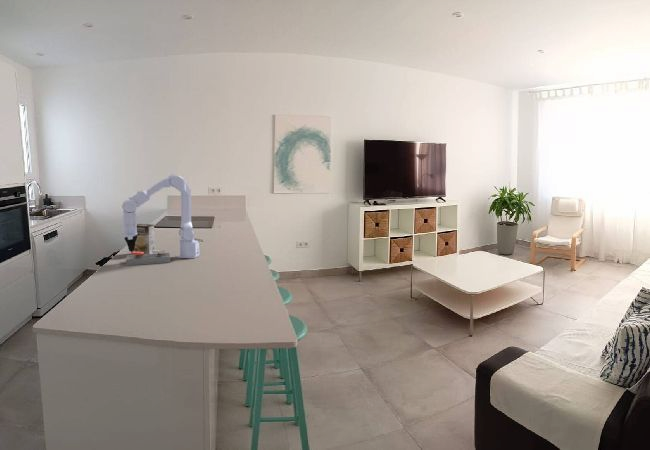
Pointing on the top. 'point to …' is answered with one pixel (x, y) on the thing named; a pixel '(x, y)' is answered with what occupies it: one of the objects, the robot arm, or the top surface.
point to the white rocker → (158, 251)
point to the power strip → (147, 259)
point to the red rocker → (137, 253)
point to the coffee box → (145, 239)
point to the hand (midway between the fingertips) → (131, 251)
